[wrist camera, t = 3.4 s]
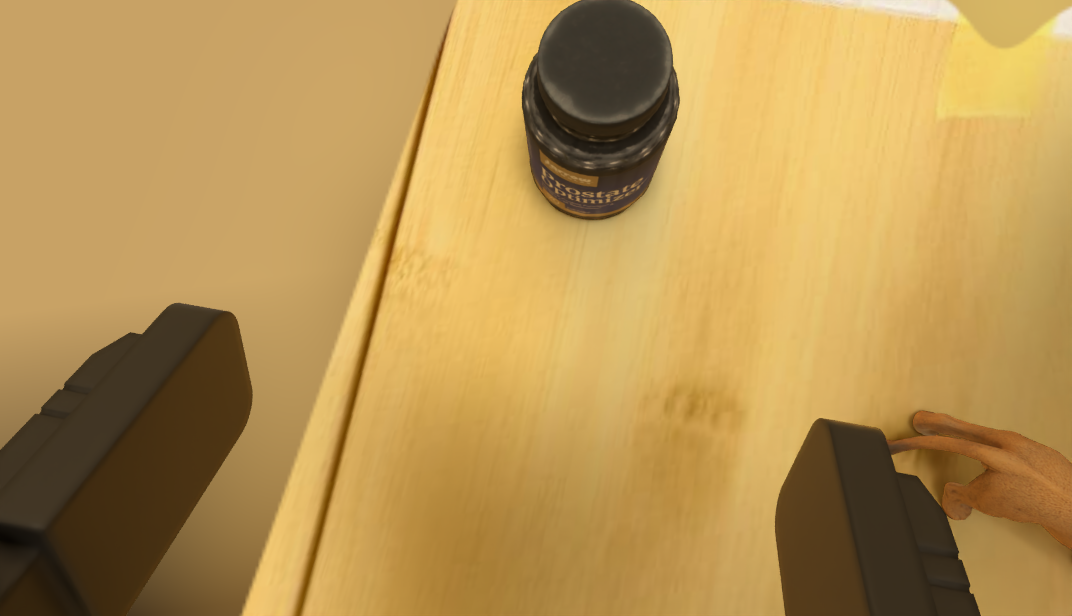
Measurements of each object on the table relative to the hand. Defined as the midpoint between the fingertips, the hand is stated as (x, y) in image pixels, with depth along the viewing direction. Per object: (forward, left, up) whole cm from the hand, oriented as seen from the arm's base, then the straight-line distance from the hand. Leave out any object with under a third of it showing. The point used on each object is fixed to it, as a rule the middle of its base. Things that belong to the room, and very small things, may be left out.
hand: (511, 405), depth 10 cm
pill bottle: (-11, -5, -25) cm, 27 cm away
